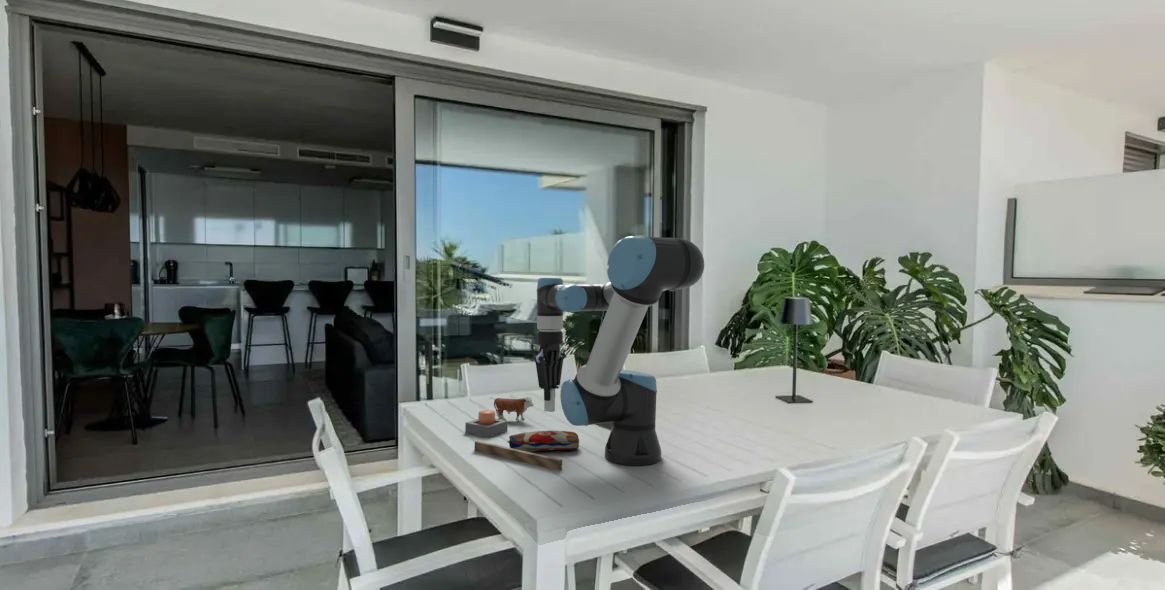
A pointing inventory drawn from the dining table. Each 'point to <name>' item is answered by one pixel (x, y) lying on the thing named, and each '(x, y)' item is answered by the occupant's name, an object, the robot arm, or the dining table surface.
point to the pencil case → (544, 441)
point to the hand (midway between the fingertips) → (549, 411)
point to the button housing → (486, 428)
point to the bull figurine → (512, 406)
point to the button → (486, 417)
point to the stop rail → (519, 455)
